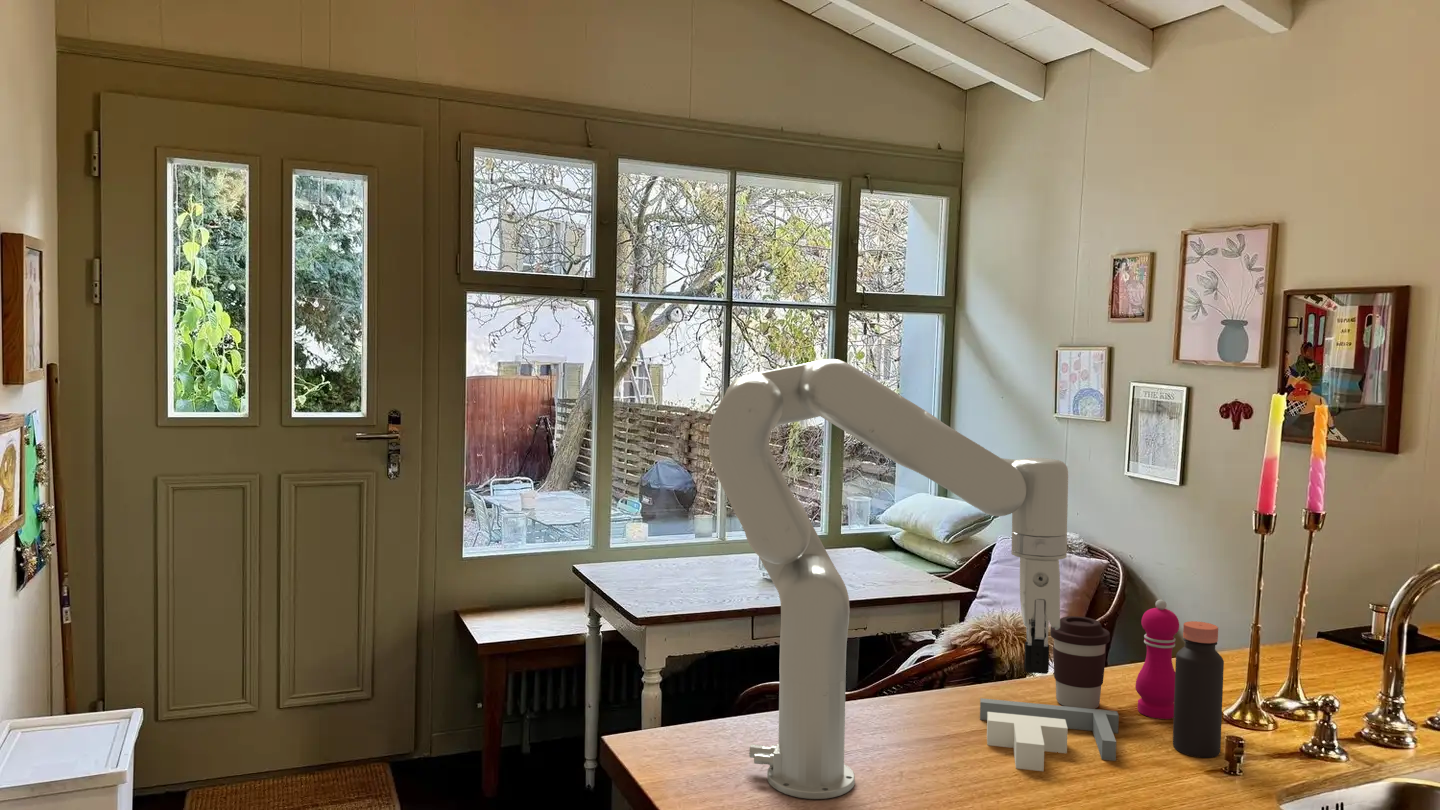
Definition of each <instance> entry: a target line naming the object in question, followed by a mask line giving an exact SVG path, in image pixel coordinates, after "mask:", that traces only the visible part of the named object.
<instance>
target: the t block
mask: <svg viewBox="0 0 1440 810" xmlns="http://www.w3.org/2000/svg"><path fill="white" fill-rule="evenodd" d="M986 722H987V723H986V743H987V744H986V745H987V746H993V747H1002V748H1012V749H1013V756H1014V765H1015V769H1018V770H1029V771H1037V772H1045V771H1044V769H1045V768H1044V767H1045V752H1049V753H1050V752H1051V753H1057V752H1058V753H1059V754H1068V729H1069V728H1067V724H1066V720H1065V719H1057V718H1047V717H1037V716H1026V715H1016V714H1006V713H996V712H987V720H986ZM1058 753H1057V754H1058Z"/></svg>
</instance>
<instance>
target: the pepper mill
mask: <svg viewBox="0 0 1440 810" xmlns="http://www.w3.org/2000/svg"><path fill="white" fill-rule="evenodd" d="M1140 621H1141V623H1140V624H1141V626H1142V629H1143V630H1144V631H1145V634H1144V635H1143V637H1144V640H1143V643H1144V644H1145V645H1146V646H1145V647H1146V655H1145V659H1144V663H1143V665H1142V667H1141V669H1140V670H1139V672H1138V674H1137V678H1136V679H1135V680H1136V681H1135V691H1136V693H1137V694H1138V695H1139V696H1140V698H1139V699H1137V711H1138V712H1139V714H1141V715H1143V716H1146V717H1149V718H1153V719H1157V718H1158V719H1157V720H1171V718H1172V719H1174V693H1175V668H1174V666H1173V659H1172V658H1173V657H1172V655H1173V648H1175V647H1176V638H1175V635H1177V634H1178V632H1179V630H1180V621H1179V618H1178V616H1177V615H1176V614H1175V612H1173V611H1171V610H1169V609H1167V603H1166V601H1165V600H1163V599H1158V600H1156V601H1155V607H1153V608H1149V609H1147V610H1146V611H1144V613H1143V615H1142V617H1141V620H1140Z"/></svg>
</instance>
